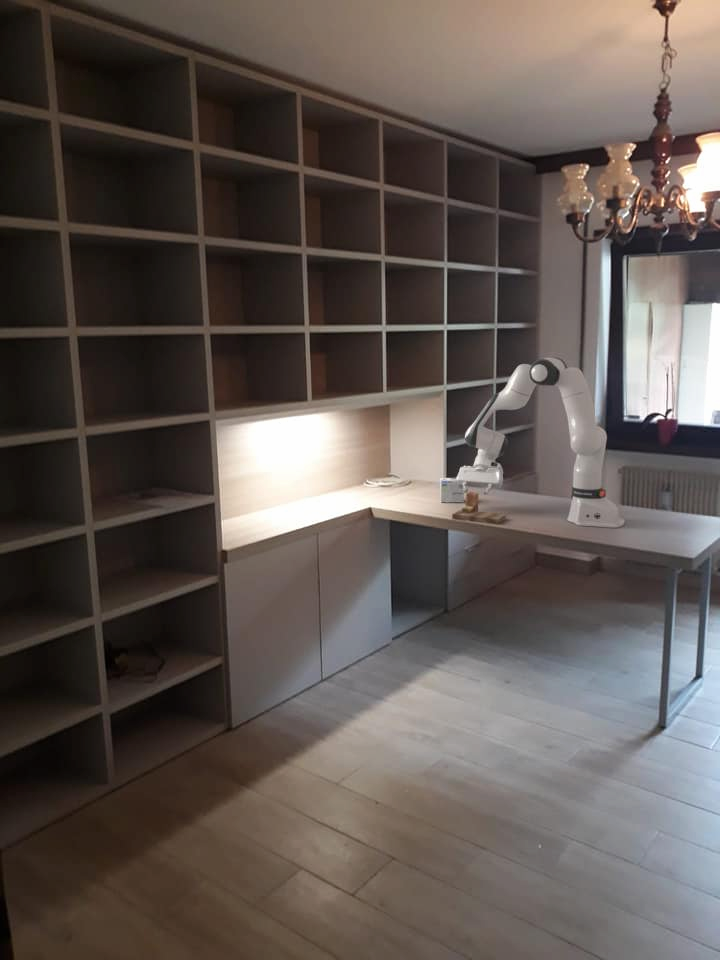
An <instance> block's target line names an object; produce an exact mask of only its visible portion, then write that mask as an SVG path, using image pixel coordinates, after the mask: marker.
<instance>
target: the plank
mask: <svg viewBox="0 0 720 960" xmlns="http://www.w3.org/2000/svg"><path fill="white" fill-rule="evenodd" d="M451 519H452V520H458V521H465V520H469V521H468V522H474V521H476V523H482V522H485V523H484V524H491V523H493V524H492V525H499V524H500V522H501V521H502V522H504V521H505V520H506V519H507V515H506V514H505V513H495V512H487V511H479V510H478V511H471V512H470V513H466V512H462V509H459V510H457V511H455V512H454V513H452V514H451ZM504 519H505V520H504ZM503 520H504V521H503ZM502 522H501V523H502Z"/></svg>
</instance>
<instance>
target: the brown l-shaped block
mask: <svg viewBox="0 0 720 960" xmlns="http://www.w3.org/2000/svg"><path fill="white" fill-rule="evenodd" d="M461 510H462V512H466V513H470V512H471V511H479V493H478V492H471V491H470V492H467V493H466V494H465V506H464V507H462V509H461Z"/></svg>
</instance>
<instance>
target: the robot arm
mask: <svg viewBox="0 0 720 960" xmlns="http://www.w3.org/2000/svg"><path fill="white" fill-rule="evenodd" d="M537 385H538V386H543V387H544V386H546V387H547V386H549V387H553V386H556V387H558V390H559V392H560V395H561V399H562V402H563V406H564V409H565V413H566V417H567V424H568V432H569V437H570V448H571V450H572V452H574V453H575V455H576V458H575V462H574V464H573V476H572V477H573V478H572V479H573V480H572V486H571V491H570V499H571V502H570V508H569V513H568V516H567V517H566V518H567V521H568V522H569V523H573V524H575V525H577V526H583V527H584V526H585V527H599V528H614V529H616V528H621V527H622V526H624V525H625V519H624V518H621V517H620V513H619V509H618V506H616V505H615V504H614V503H613V502H612V501H611V500H609V499H608V498H607V497H606V495H607V494H606V493H607V489H606V488H605V489H604V488H602V475H603V473H602V471H603V464H604V459H605V452H606V445H607V439H608V436H607V432H606V430H605V429H604V428H603V427H600V426H598V425H597V422H596V415H595V413H596V412H595V411H596V410H595V405H594V402H593V401H594V400H593V399H592V395H591V391H590V388H589V385H588V382H587V380H586V378H585V375H584V374H583V372H582V370H581V369H580V368H579V367H574V366H573V367H567V363H566V362H565V361H564V360H563V359H561V358H559V357H545V358H540V359H538V360H536V361H534V362H533V363H532V364H526V363H522V364H519V365H518V366H517V367H516V368H515V369H514V371H513V373H512V374H511V375H510V377H509V379H508V381H507V383H506V384H505V387H504V388H503V389H502V390H501V391H500V392H496V393H494V394H492V396H491V397H490V398H489V399H488V400H487V402H486V404H485V405H484V407H482V408H483V409H481V411H480V413H479V414H478V415H477V417H476V419H474V421H473V422H472V424H471V425H470V426H469V427H468V428H467V430H466V431H465V435H464V441H465V442H466V444H467V446H468V447H471V448H477V449H478V450H477V455H476V456H475V459H474V462H473V465H463V466H461V467H460V468H459V472H458V473H457V476H456V477H455V478H456V480H457V482H458V484H461V485H463V487H464V489H463V492H464V493H466V494H467V493H468V491H469V488H468V487H467V486H475V487H487V488H484V491H483V494H484V495H486V496H487V495H489V492H490V491H492V489H493V488H498V489H499V488H501V487H502V486H503V483H504V482H503V481H504V477H503V475H504V469H503V467H502V465H501V463H498V462H496V459H497V458H500V457H502V456H503V455H504V454H505V452H506V449H507V446H508V443H509V440H508V437H507V436H506V434H503V433H501V432H498V431H496V430H493V429H489V428H488V427H486V426H484V425H485V424H486V422H487V421H488V420H489V418H490V417H491V415H492V414H493V413H494V412H495V411H496V412H497V411H500V410H503V411H504V410H508V411H515V410H518V409H522V408H523V407H525V406H526V405H527V403H528V401H530V398H531V397H532V396H531V395H532V394H533V391H534V389H535V387H536V386H537Z"/></svg>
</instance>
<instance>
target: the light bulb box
mask: <svg viewBox="0 0 720 960" xmlns="http://www.w3.org/2000/svg"><path fill="white" fill-rule="evenodd" d="M456 478H457V477H440V478H439V497H440V498H439V501H441V502H440V504H443V503H442V502H463V503H464V492H463V489H464V487H463V485H461V484H458V482H457V480H456Z"/></svg>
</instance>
